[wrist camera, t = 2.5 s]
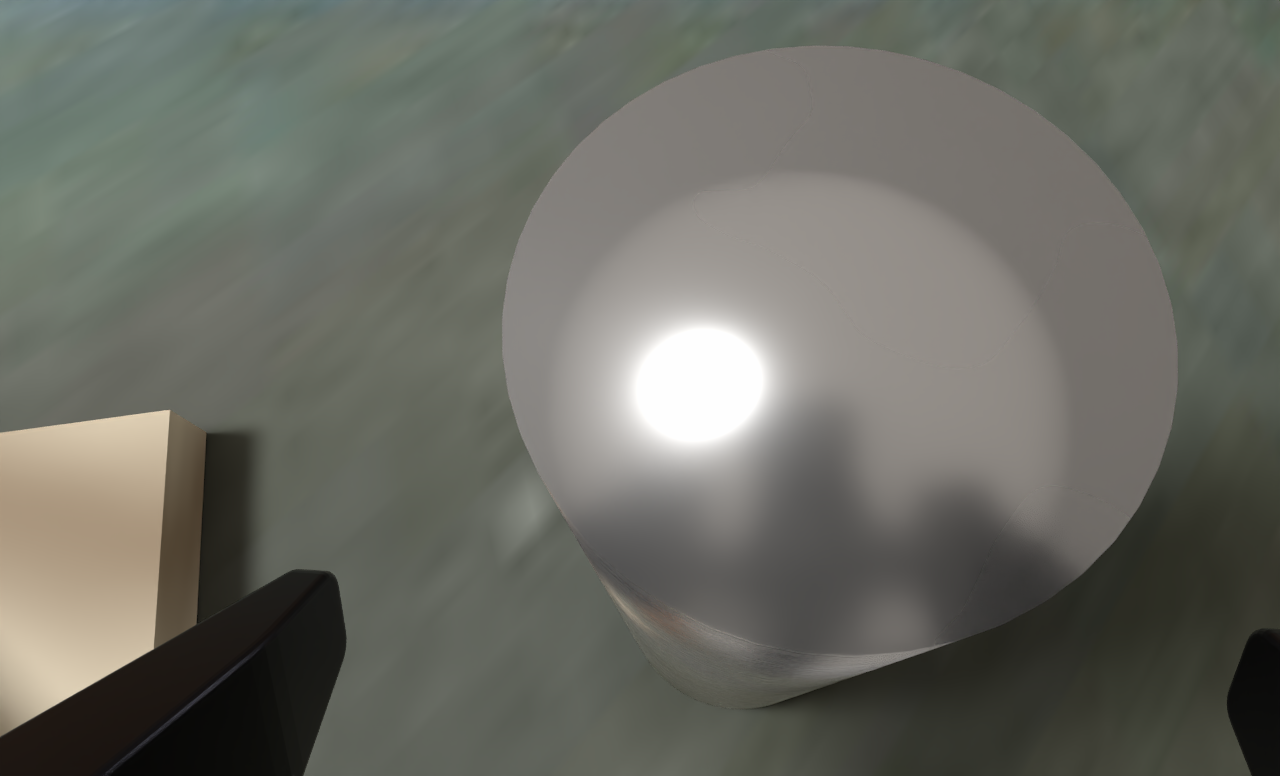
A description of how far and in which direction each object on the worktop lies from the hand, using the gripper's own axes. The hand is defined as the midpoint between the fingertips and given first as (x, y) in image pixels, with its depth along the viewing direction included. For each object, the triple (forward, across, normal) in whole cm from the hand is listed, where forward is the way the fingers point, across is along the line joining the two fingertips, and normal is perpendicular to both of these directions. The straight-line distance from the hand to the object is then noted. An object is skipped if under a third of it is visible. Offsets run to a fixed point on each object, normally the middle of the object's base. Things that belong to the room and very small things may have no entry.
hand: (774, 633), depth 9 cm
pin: (+8, 0, +5) cm, 9 cm away
